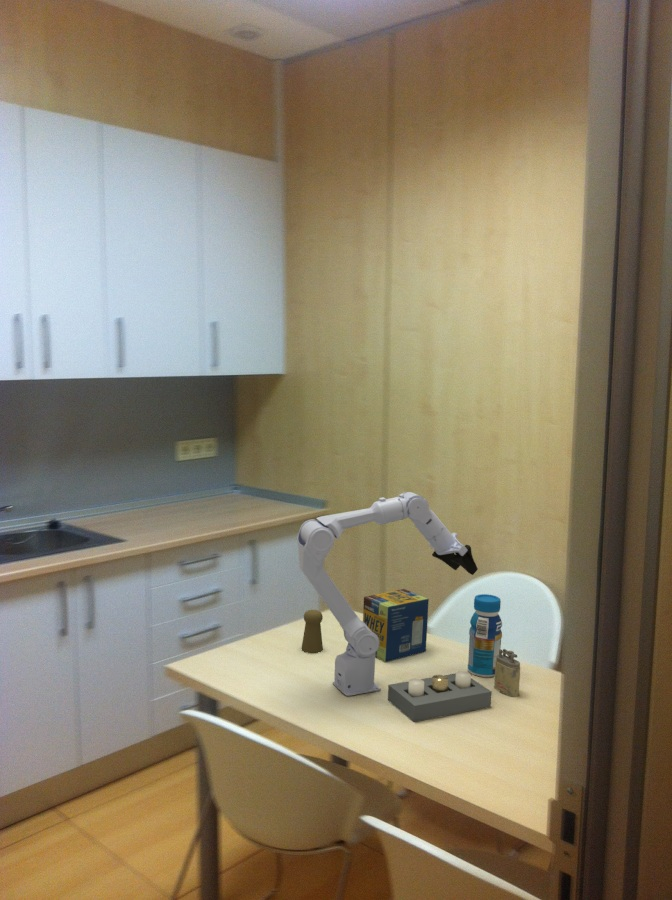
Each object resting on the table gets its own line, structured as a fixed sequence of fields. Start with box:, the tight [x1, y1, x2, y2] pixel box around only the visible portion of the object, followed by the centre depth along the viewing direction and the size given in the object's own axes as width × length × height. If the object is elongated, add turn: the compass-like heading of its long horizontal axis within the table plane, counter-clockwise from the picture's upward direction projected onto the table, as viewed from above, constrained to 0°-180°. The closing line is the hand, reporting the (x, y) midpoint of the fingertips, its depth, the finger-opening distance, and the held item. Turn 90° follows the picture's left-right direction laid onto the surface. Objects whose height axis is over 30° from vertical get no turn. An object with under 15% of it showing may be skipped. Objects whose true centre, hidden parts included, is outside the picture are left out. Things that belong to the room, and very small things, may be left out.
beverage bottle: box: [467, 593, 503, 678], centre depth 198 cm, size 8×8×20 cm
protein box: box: [362, 588, 430, 663], centre depth 210 cm, size 10×15×16 cm
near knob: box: [408, 678, 425, 698], centre depth 176 cm, size 4×4×4 cm
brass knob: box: [432, 674, 448, 693], centre depth 178 cm, size 4×4×4 cm
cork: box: [301, 609, 324, 654], centre depth 210 cm, size 6×6×11 cm
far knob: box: [455, 670, 472, 689], centre depth 181 cm, size 4×4×4 cm
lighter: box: [493, 648, 521, 697], centre depth 187 cm, size 7×4×10 cm, turn 33°
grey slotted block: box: [387, 672, 493, 723], centre depth 179 cm, size 21×12×4 cm, turn 115°
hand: (466, 569), depth 191 cm, fingers open, 7 cm apart
